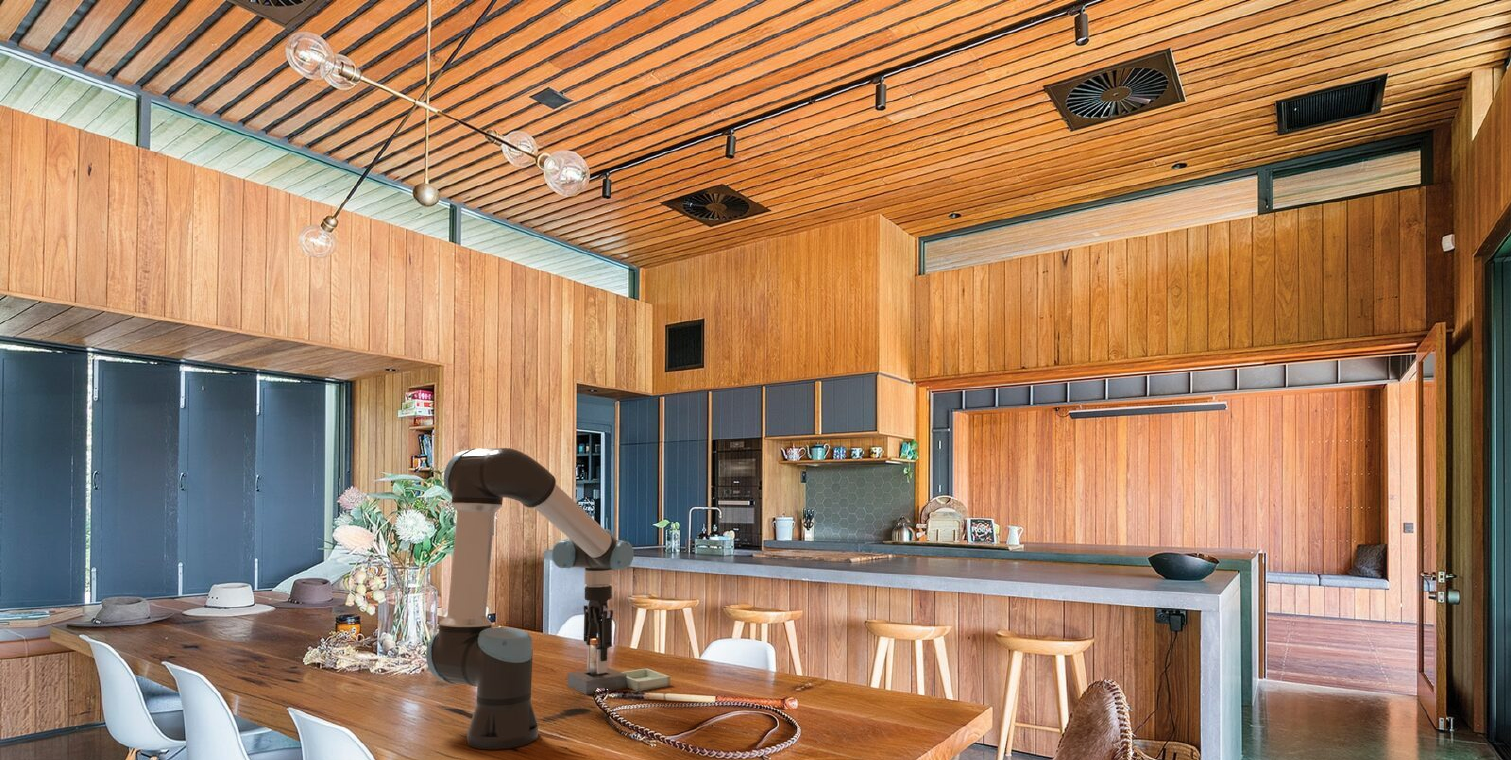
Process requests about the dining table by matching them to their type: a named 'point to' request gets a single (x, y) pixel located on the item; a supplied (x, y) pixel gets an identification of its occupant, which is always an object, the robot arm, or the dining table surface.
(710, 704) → the dining table surface
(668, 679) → the tray
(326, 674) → the dining table surface
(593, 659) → the orange capped vial
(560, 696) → the dining table surface
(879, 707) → the dining table surface
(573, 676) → the block
